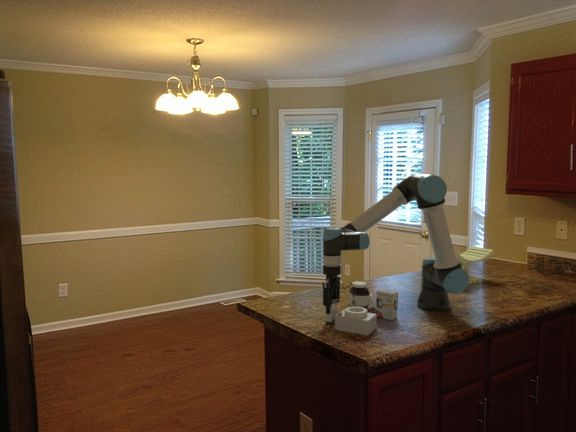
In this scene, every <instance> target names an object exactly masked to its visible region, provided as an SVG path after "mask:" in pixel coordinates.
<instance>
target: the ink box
mask: <svg viewBox="0 0 576 432" xmlns="http://www.w3.org/2000/svg"><path fill="white" fill-rule="evenodd" d="M375 295H376V296H375V304H376V308H375V310H374V311H375V313H374V314H377V318H381V319H386V320H390V321H393V320H395V319H396V320H397V318H398V307H399V305H398V304H399V291H395V290H391V289H387V288H380V289H378V290H376V293H375Z"/></svg>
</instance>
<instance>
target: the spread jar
mask: <svg viewBox="0 0 576 432" xmlns="http://www.w3.org/2000/svg"><path fill="white" fill-rule="evenodd" d="M348 290H349V291H348V302H349V307H362V308H365V309H367V308H368V307H369V306H370V304H371V306H372V308H373V309H375V310H376V300H375V299H374V296H373V294H372V293H370V291H369V288H368V283H367V282H365V281H357V280H356V281H352V282H351V287H350V288H349V289H348Z"/></svg>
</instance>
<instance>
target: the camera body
mask: <svg viewBox="0 0 576 432" xmlns="http://www.w3.org/2000/svg"><path fill="white" fill-rule="evenodd" d="M368 310H369V309H367V308H366V309H365V308H362V307H351V306H348V307H346V308H344V309H343V310H341V311H339V312H338V311H337V314H336V315H335V323H334V330H335V331H340V332H347V333H352V334H355V335H356V334H358V335H362V336H369V335H371V334H372V333H373V332H374V331H375V330H376V329H377V319H378V317H377V314H375V313H373V312H372V313H371V312H368Z"/></svg>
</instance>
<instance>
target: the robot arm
mask: <svg viewBox="0 0 576 432" xmlns="http://www.w3.org/2000/svg"><path fill="white" fill-rule="evenodd" d="M447 193H448V187H447V183H446V181H445V180H444V179H443V177H441V176H439V175H436V174H432V173H415V174H411V175H410V176H408V177H406V178H405V179H403V180H402V181H400V182H399V183H398V184H396V185H395V186H394V187H392V190H391V192H389V193H388V194H386V195H385V196H384V197H382V198H381V199H380V200H378V201H377V202H376V203H374V204H373V205H372V206H370V207H369V208H368V209H366V210H365V211H363V212H362V213H361V214H359V215H358V216H357V217H356V218H354V219H352V220H351V221H350V222H348V223H347V224H346V225H344V226H340V227H326V228H324V229H323V232H322V264H323V265H322V274H323V275H325V276H326V277H325V281H324V282H323V281H322V284H321V285H322V305H323V306H324V307H325V321H331V322H332V306H331V303H332V297H335V298H337V304H338V303H340V302H341V301H340V299H341V280H342V279H341V278H342V277H341V276H340V275H341V274H342V266H341V264H342V251H363V250H367V249H368V248H369V246H370V236H369V234H368V232H367V231H369V230H370V229H371V228H373V227H374V226H375V225H377V224H378V223H379V222H380V221H383V220H384V219H385V218H386V217H388V216H389V215H390V214H391V213H393V212H394V211H396V210H397V209H398V208H400V207H401V206H407V204H409V203H411V202H412V201H413V202H414V201H416V205H417V208H418V209H419V210H420V211H422V214H423V217H424V221H425V225H426V228H427V232H428V236H429V240H430V245H431V247H432V251H433V255H434V257H430V258H428V257H427V258H424V259H423V260H422V263H421V288H420V291H419V294H418V297H417V299H416V305H417V307H419V308H421V309H424V310H427V311H428V310H430V311H446V310H450V308H451V301H450V300H451V299H450V296H449V294H453V295H459V294H461V293H463V292H464V291H465V290H466V289H467V287H468V286H469V285H470V284H469V275H470V274H469V273H468V272H467V271H466V270H464V269H462V265H461V262H460V259H458V258H456V257H455V254H456V253H455V250H454V245H453V243H452V237H451V235H450V229H449V225H448V223H447V218H446V214H445V210H444V205H445V203H446V198H445V197H446V195H447ZM468 274H469V275H468ZM468 284H469V285H468Z"/></svg>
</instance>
